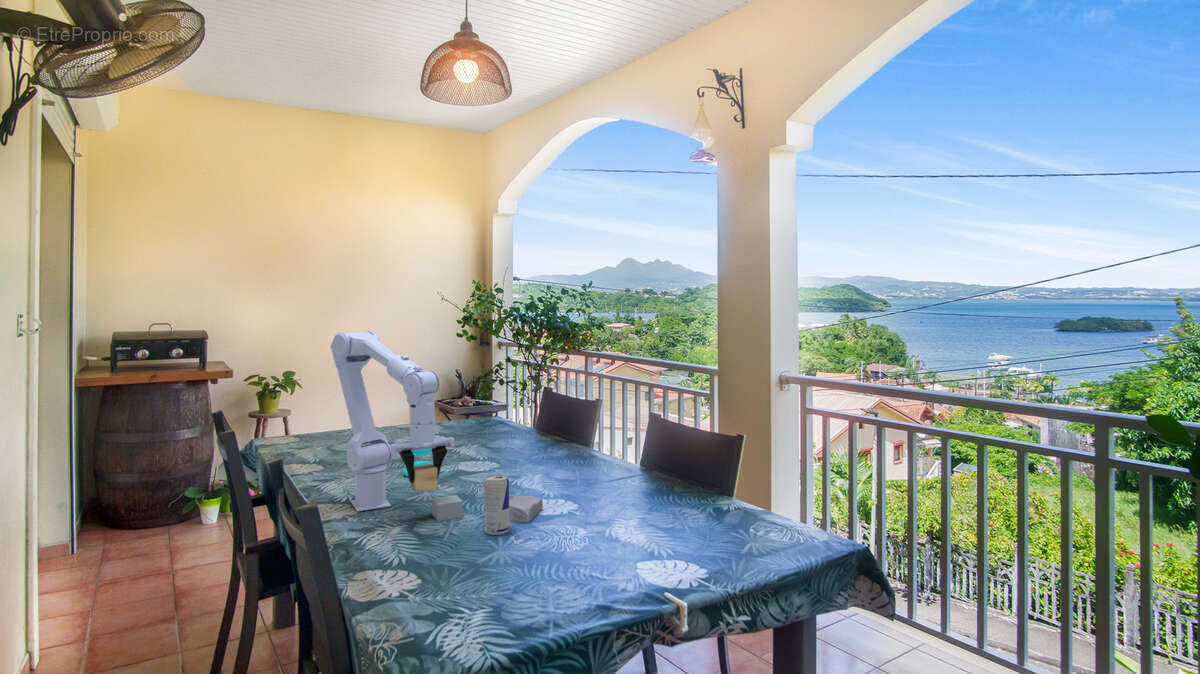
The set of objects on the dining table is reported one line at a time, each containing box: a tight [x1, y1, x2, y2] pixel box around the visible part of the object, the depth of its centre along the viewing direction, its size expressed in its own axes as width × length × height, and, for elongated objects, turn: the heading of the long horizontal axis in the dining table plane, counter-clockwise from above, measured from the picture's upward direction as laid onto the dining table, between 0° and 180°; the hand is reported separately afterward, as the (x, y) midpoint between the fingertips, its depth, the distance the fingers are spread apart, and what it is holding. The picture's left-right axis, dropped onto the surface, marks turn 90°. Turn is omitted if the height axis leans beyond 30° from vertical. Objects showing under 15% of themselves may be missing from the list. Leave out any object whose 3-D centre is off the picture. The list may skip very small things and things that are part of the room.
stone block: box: [509, 495, 543, 524], centre depth 152 cm, size 12×5×10 cm
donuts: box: [402, 447, 433, 478], centre depth 192 cm, size 10×10×10 cm
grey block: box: [431, 494, 464, 522], centre depth 152 cm, size 6×6×4 cm
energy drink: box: [483, 474, 511, 536], centre depth 141 cm, size 5×5×12 cm
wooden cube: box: [410, 464, 439, 493], centre depth 150 cm, size 5×5×5 cm
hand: (423, 480), depth 150 cm, fingers closed on wooden cube, 5 cm apart
